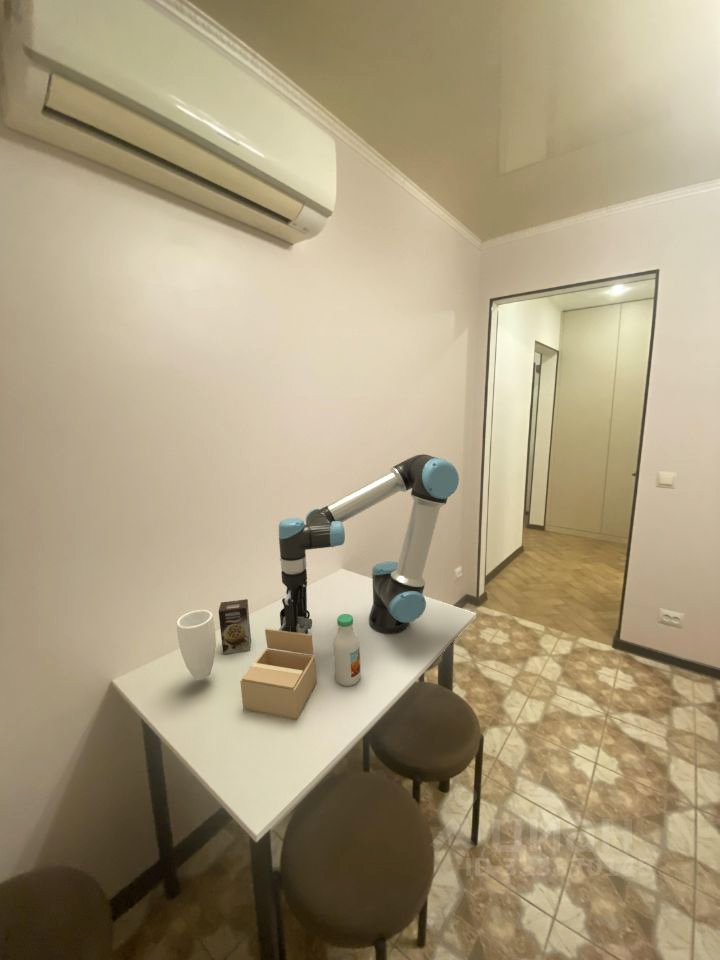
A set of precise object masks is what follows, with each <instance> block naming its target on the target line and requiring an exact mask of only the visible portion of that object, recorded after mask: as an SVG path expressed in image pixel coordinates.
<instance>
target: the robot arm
mask: <svg viewBox="0 0 720 960" xmlns="http://www.w3.org/2000/svg"><path fill="white" fill-rule="evenodd" d="M459 479H460V477H459V473H458V470H457V469H456V467H455V466H454V464H453V463H451V462H449V461H448V460H446V459H443V458H441V457H435V456H432V455H429V454H424V453H423V454H417V455H414V456H411V457H409V458H407V459H405V460H404V461H402V462H400V463H397V464H396V465H394V466H393V467H391V468H390V470H389V472H386V473H385V474H383V475H381V476H380V477H378V478H375V479H374V480H372V481H370V482H368V483H366V484H365V485H363V486H361V487H359V488H357V489H355V490H353V491H352V492H350V493H348V494H347V495H345V496H343V497H340V498H339V499H337V500H335V501H333V502H332V503H330V504H328V505H325V506H323V507H321V508H313V509H311V510H310V511H308V512H307V514H306V515H305V521H304V519H302V518H299V517H289V518H284V519H282V520H280V522H279V524H278V544H279V555H280V558H279V561H280V566H281V583H282V584H283V585H284V586H285V587H286V592H285V594H286V596H285V597H284V598H283V597H282V599H281V602H282V605H283V608H284V613H285V621H286V626H287V627H290V632H295V633H300V632H301V631H302V629H303V628H299V624H298V617H300V618H304V616H305V617H306V616H308V614H307V613H305V611H307V610H308V599H307V598H308V597H307V595H308V594H307V592H308V591H307V586H308V573H307V555H306V554H307V553H306V551H308V550H316V549H325V548H327V549H328V548H334V547H335V548H336V547H339V546H343V545H345V540H346V532H345V527H344V524H343V523H344V522H345V521H348V520H349V519H351V518H353V517H355V516H356V515H359V514H360V513H362V512H364V511H366V510H367V509H370V508H371V507H373V506H375V505H377V504H379V503H381V502H383V501H384V500H387V499H388V498H390V497H391V496H393V495H396V494H397V493H399V492H402V493H405V492H407V491H410V490H411V492H410V496H411V498H412V499H413V503H412V507H411V511H410V515H409V519H408V522H407V523H408V524H407V527H406V532H405V534H404V540H403V542H402V543H403V544H402V547H401V551H400V555H399V559H398V561H383V562H378V563H376V564H375V565H374V566H373V567H372V570H371V571H372V572H371V576H372V577H371V578H372V579H371V580H372V601H373V602H372V605H371V606H372V607H371V608H370V612H369V615H368V624H369V627H370V628H372V629H373V630H374V631H376V632H379V633H383V634H397V633H401V632H403V631H405V630H406V629H407V628H408V627H409V626H410V623H412V622H414V621H416V620H417V619H419V618H420V617H422V615H423V614H424V612H425V610H426V608H427V601H426V598H425V595H424V594H423V593H424V589H425V586H426V581H425V579H424V578H423V574H424V570H425V567H426V562H427V560H428V556H429V552H430V547H431V543H432V541H433V536H434V533H435V528H436V524H437V522H438V516H439V513H440V509H441V508H442V507H444V506H445V505H447V501H448V498H450V497H451V496H452V494H455V492H456V490H457V489H458V486H459V482H460V480H459ZM304 634H305V633H304Z"/></svg>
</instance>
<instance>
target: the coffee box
mask: <svg viewBox="0 0 720 960" xmlns="http://www.w3.org/2000/svg"><path fill="white" fill-rule="evenodd" d="M218 619H219V628H220V636H221V637H220V639H221V648H222V655H229V654H236V653H242V652H249V651H251V649H252V648H251V647H252V633H251V623H250V613H249V599H247V598H246V599H237V600H230V601H222V602H220V604H219V609H218Z"/></svg>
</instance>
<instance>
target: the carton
mask: <svg viewBox="0 0 720 960" xmlns="http://www.w3.org/2000/svg"><path fill="white" fill-rule="evenodd" d="M317 680H318V679H317V667H316V656H315V655H311V654H304V653H297V652H290V651H284V650H277V649H270V648H265V649H264V650H263V651H262V653H261V654H260V655H259V657H257V659H256V660H255V661H254V662H253V664H251V666H250V668H249V669H248V670H247V671H246V672H245V674H244V675H243V676H242V678H241V679H240V681H239V682H240V691H241V699H242V702H241V703H242V709H243V710H244V711H250V712H255V713H259V714H260V713H261V714H265V715H269V716H274V717H275V716H276V717H278V718H279V717H280V718H285V719H290V720H295V721H298V719H299V717H300V716H301V714H302V712H303V709H304V708H305V706H306V704H307V702H308V700H309V699H310V697H311V694H312V693H313V691H314V689H315V687H316V685H317Z"/></svg>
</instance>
